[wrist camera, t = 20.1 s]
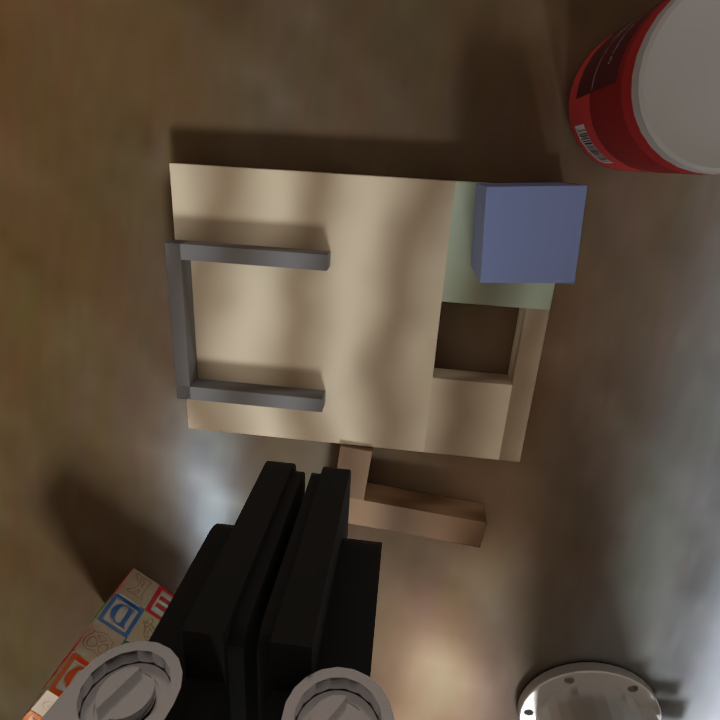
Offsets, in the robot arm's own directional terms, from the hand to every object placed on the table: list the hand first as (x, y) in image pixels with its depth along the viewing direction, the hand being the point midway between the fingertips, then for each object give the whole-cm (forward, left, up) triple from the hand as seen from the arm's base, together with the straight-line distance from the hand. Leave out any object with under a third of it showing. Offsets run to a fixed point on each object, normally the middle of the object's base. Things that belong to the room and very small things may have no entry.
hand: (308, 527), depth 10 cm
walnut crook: (-3, +17, -27) cm, 32 cm away
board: (+2, +4, -27) cm, 27 cm away
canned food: (-14, -11, -27) cm, 33 cm away
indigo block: (-8, -4, -25) cm, 27 cm away
